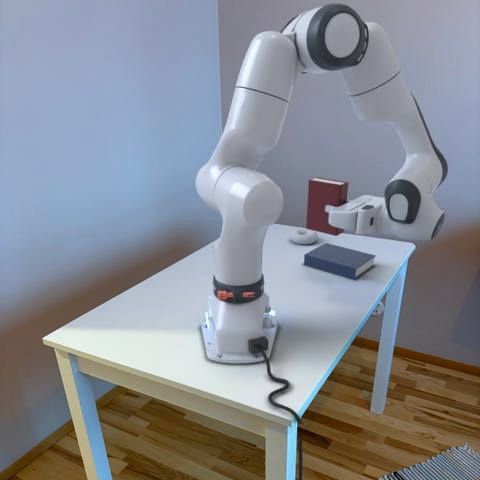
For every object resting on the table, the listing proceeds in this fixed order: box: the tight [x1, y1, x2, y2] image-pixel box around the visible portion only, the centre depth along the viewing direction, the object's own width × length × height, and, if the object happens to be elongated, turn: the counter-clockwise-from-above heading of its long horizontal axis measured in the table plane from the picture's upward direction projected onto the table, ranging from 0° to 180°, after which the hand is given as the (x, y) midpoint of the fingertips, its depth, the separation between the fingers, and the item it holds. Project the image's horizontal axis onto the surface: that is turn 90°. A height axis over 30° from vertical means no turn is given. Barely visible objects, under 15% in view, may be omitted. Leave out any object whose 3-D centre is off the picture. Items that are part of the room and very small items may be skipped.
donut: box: [289, 228, 319, 245], centre depth 166 cm, size 10×4×10 cm
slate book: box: [303, 242, 377, 280], centre depth 147 cm, size 13×18×4 cm
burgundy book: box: [305, 176, 349, 237], centre depth 130 cm, size 4×10×14 cm, turn 50°
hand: (331, 205), depth 128 cm, fingers closed on burgundy book, 4 cm apart
